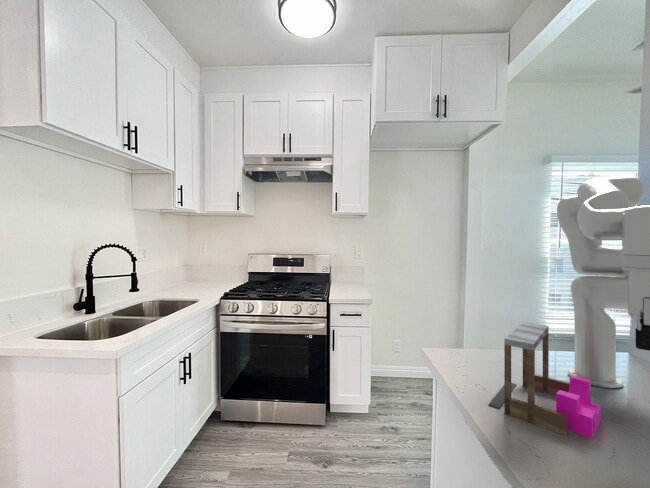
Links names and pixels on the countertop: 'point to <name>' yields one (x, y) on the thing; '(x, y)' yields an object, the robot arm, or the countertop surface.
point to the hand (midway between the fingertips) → (646, 348)
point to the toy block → (579, 407)
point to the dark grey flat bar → (500, 397)
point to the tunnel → (532, 379)
